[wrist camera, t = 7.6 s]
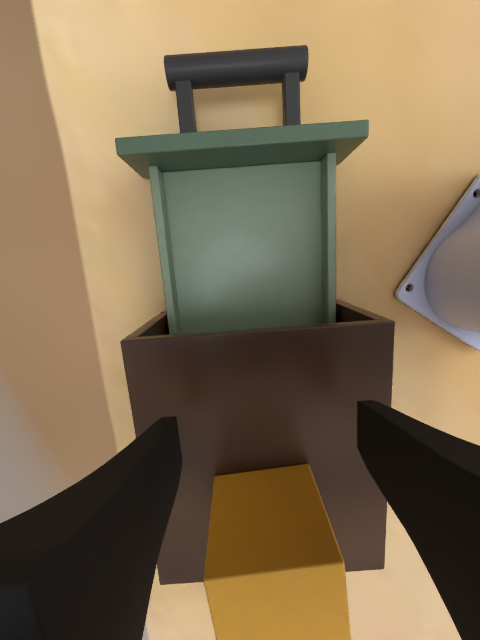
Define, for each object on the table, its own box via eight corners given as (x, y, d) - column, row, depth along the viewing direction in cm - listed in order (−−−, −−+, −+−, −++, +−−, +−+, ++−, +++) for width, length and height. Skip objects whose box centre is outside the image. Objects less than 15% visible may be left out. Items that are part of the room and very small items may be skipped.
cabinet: (161, 311, 20) (119, 340, 13) (337, 299, 20) (395, 321, 13) (184, 482, 23) (159, 585, 16) (337, 471, 23) (384, 569, 16)
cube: (213, 475, 14) (202, 581, 10) (309, 462, 14) (345, 563, 9) (228, 552, 15) (224, 682, 10) (317, 540, 15) (353, 666, 10)
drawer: (131, 88, 17) (99, 34, 13) (339, 73, 17) (371, 14, 13) (168, 372, 21) (152, 399, 17) (339, 360, 21) (364, 383, 17)
